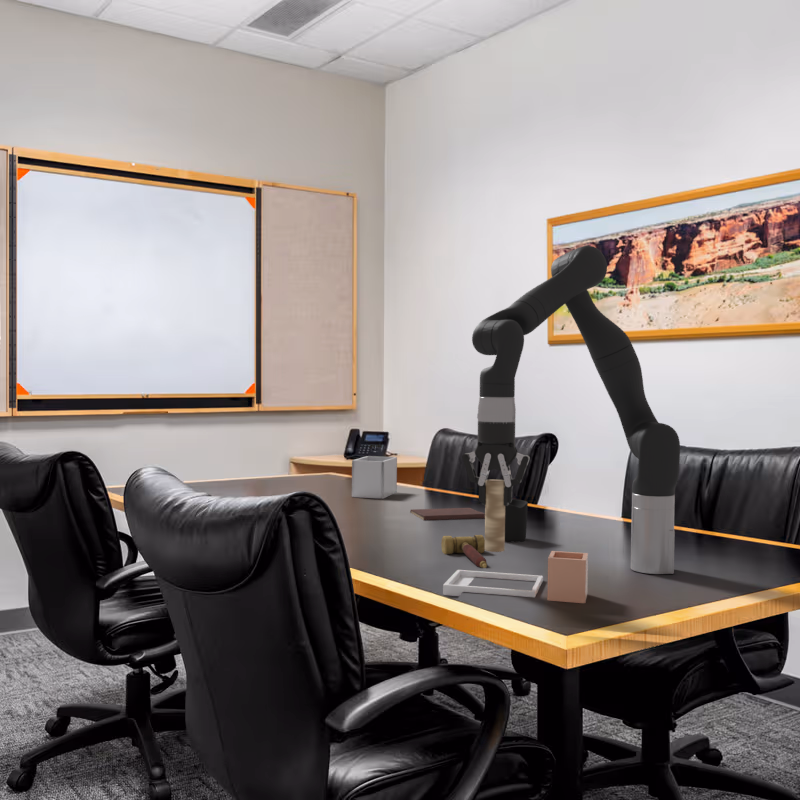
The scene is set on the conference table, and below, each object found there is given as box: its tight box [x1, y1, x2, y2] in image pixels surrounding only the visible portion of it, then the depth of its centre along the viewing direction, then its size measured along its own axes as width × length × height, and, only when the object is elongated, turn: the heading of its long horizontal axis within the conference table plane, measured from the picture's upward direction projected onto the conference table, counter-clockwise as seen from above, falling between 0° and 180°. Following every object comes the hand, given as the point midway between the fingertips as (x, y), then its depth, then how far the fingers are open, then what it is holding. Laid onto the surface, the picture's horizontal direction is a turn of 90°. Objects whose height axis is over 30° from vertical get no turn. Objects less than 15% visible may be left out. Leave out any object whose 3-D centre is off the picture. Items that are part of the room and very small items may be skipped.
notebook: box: [409, 507, 485, 521], centre depth 268 cm, size 15×20×2 cm
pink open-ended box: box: [546, 550, 589, 604], centre depth 165 cm, size 7×7×9 cm
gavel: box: [440, 534, 488, 569], centre depth 203 cm, size 21×5×10 cm
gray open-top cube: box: [351, 455, 398, 499], centre depth 313 cm, size 12×18×13 cm, turn 165°
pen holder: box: [505, 499, 529, 543], centre depth 229 cm, size 9×9×10 cm
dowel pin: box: [484, 479, 506, 553], centre depth 174 cm, size 4×4×14 cm
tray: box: [442, 569, 544, 598], centre depth 174 cm, size 18×14×2 cm
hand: (495, 504), depth 174 cm, fingers closed on dowel pin, 4 cm apart
